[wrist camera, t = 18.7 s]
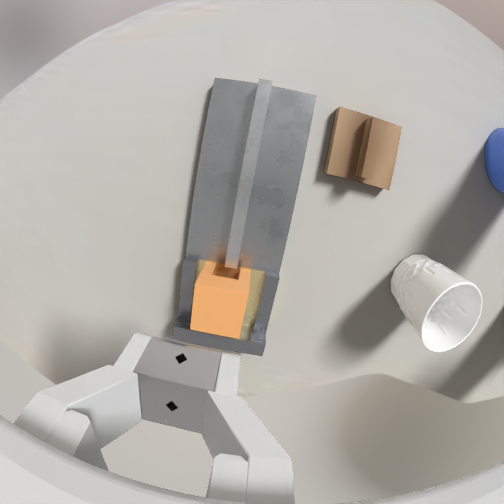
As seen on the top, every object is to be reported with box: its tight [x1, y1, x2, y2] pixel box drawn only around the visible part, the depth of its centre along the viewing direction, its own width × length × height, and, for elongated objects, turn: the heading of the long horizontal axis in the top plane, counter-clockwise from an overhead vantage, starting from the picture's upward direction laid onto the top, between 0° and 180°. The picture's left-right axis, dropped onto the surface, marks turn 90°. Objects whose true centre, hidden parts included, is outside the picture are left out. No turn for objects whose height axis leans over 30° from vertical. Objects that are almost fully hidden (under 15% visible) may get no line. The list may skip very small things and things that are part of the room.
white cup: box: [391, 254, 482, 352], centre depth 28 cm, size 8×8×10 cm
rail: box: [173, 78, 316, 356], centre depth 29 cm, size 10×28×4 cm, turn 170°
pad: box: [324, 107, 402, 190], centre depth 26 cm, size 7×7×4 cm
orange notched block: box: [190, 262, 251, 339], centre depth 29 cm, size 5×5×6 cm
